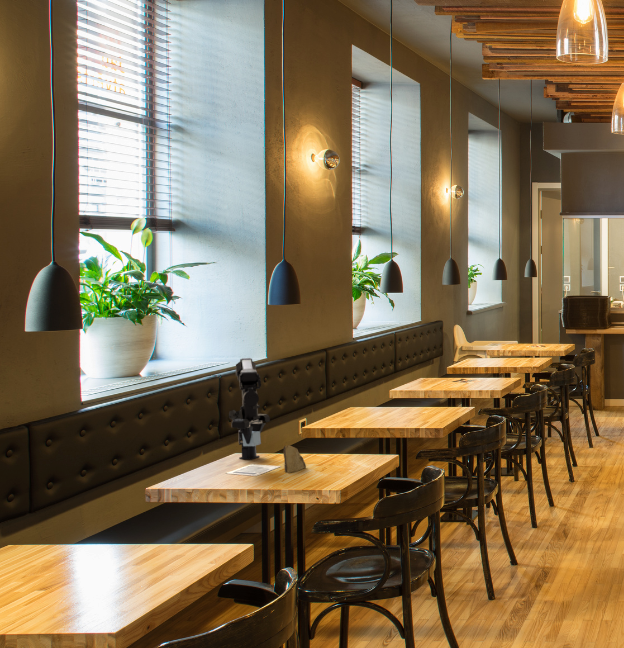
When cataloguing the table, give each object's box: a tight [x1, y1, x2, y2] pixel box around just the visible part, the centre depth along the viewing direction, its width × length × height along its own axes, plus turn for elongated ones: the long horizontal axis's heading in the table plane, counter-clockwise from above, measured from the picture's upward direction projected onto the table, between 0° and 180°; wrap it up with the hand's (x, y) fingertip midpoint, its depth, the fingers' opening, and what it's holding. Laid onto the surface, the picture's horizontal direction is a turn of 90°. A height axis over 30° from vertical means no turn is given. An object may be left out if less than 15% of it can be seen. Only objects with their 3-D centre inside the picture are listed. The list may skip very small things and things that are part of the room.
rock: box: [283, 444, 307, 474], centre depth 314 cm, size 11×9×10 cm
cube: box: [242, 431, 262, 447], centre depth 316 cm, size 5×5×5 cm
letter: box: [225, 463, 282, 477], centre depth 317 cm, size 18×14×1 cm
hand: (251, 442), depth 316 cm, fingers closed on cube, 5 cm apart
